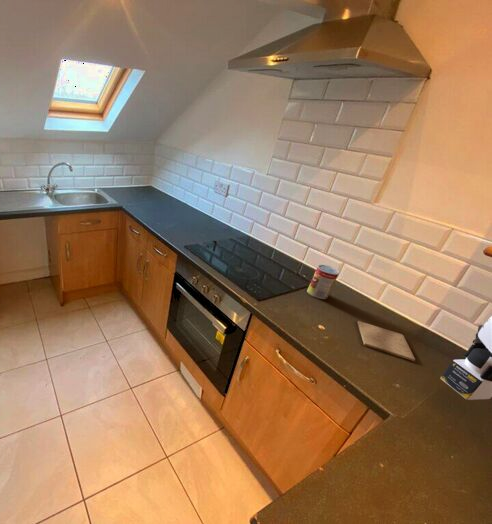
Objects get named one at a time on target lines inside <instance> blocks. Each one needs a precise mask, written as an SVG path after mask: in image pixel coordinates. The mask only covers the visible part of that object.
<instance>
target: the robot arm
mask: <svg viewBox="0 0 492 524" xmlns="http://www.w3.org/2000/svg"><path fill="white" fill-rule="evenodd" d="M476 348H480V349H485V350H488V351H490V352H491V353H492V315H491V316H490V317H489V318H488V319H487V320H486V321H485V323H484V324H479V325H478V327H477V332H476V333H475V339H473V340H472V344H471V345H470V347H468V349H467V351H466V352H465V353H464V357H465V358H467V357H468V355H469V354H470V353H471V351H472V350H473V349H476ZM480 377H481V378H482V379H484V380H487V381H491V382H492V366H491V365H489V366H488V367H487V368H486V369H485V370H484V372H483V373H482V374H481V375H480Z"/></svg>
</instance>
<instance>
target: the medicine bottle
mask: <svg viewBox="0 0 492 524" xmlns="http://www.w3.org/2000/svg"><path fill="white" fill-rule="evenodd" d="M489 365H491V366H492V353H491V352H490V351H488V350H485V349H480V348H476V349H473V350H472V351H471V353H470V354H469V355H468V357H465V359H453V360H452V361H451V362H450V364H449V365H448V366H447V368H446V369H445V371H444V372H443V373H442V375H441V376H440V380H441V381H442V382H444V383H445V384H446V385H447V386H448V387H450V388H451V389H452V390H454V391H455V392H456V393H457V394H458V395H460V396H461V397H463V399H465V400H466V401H475V400H490V399H491V398H492V382H491V381H487V380H484V379H482V378H481V377H480V375H481V374H482V373H483V372H484V370H485V369H486V368H487V367H488V366H489Z"/></svg>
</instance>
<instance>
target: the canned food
mask: <svg viewBox="0 0 492 524" xmlns="http://www.w3.org/2000/svg"><path fill="white" fill-rule="evenodd" d="M339 274H340V271H339V270H338V269H337V268H335V267H332V266H330V265H326V264H319V265H317V267H316V269H315V272H314V274H313V275H312V278H311V280H310V283H309V285H308V287H307V290H306V292H307V293H308V294H309V295H310V296H311V297H314V298H316V299H320V300H326V299H328V297H329V295H330V294H331V291H332V289H333V287H334V285H335V282H336V280H337V279H338V277H339ZM322 297H323V298H322ZM324 297H326V298H324Z"/></svg>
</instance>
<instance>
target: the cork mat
mask: <svg viewBox="0 0 492 524" xmlns="http://www.w3.org/2000/svg"><path fill="white" fill-rule="evenodd" d="M357 327H358V329H359V333H360V336H361V339H362V342H363V346H367V347H369V348H372V349H374V350H375V349H376V350H378V351H381V352H384V353H387V354H391V355H392V356H395V357H399V358H402V359H405V360H408V361H411V362H416V358H415V356H414V354H413V352H412V350H411V347H410V346H409V344H408V342H407V340H406V337H405V336H404V334H403V333H398V332H396V331H392V330H389V329H386V328H383V327H380V326H376V325H373V324H371V323H367V322H364V321H361V320H357Z"/></svg>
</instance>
